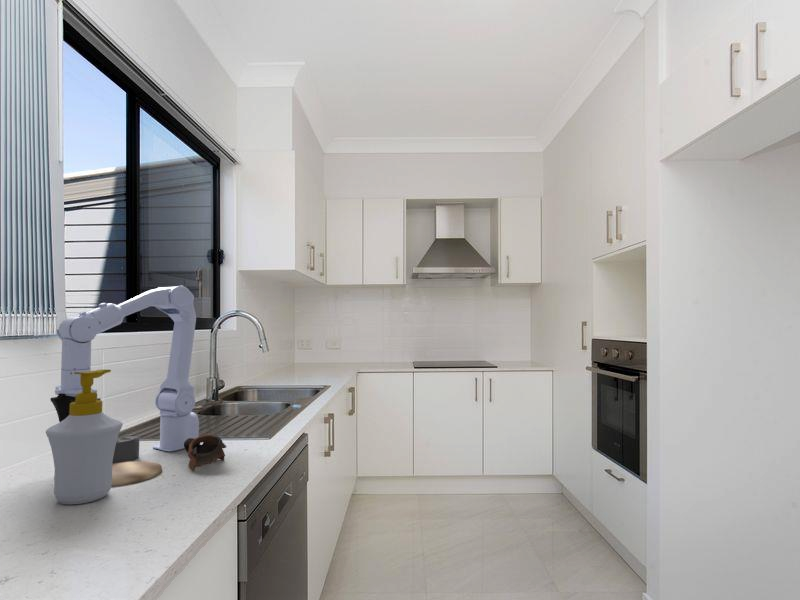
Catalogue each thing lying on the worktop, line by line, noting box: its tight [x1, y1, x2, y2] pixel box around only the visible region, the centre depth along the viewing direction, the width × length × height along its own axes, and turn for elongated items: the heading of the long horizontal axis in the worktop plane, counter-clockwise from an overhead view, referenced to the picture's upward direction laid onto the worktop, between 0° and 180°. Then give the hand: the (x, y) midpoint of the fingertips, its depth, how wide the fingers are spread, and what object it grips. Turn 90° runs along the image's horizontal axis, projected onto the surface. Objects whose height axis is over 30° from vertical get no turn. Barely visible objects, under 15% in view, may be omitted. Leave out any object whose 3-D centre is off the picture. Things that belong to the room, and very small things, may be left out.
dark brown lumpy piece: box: [183, 433, 227, 472], centre depth 117 cm, size 12×10×8 cm
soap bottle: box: [45, 369, 123, 505], centre depth 96 cm, size 13×13×25 cm
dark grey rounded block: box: [113, 435, 140, 464], centre depth 120 cm, size 12×4×5 cm, turn 149°
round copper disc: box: [111, 460, 163, 487], centre depth 110 cm, size 16×16×1 cm
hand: (74, 428), depth 112 cm, fingers open, 7 cm apart
